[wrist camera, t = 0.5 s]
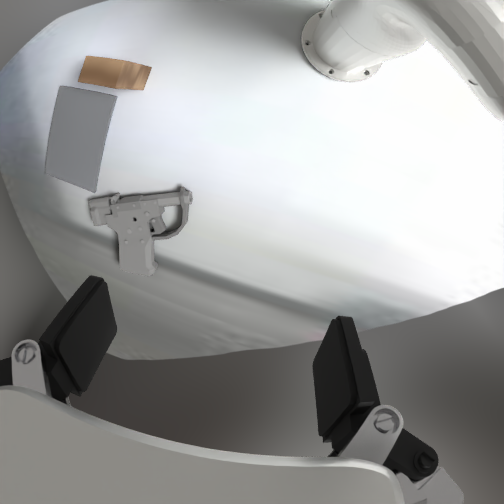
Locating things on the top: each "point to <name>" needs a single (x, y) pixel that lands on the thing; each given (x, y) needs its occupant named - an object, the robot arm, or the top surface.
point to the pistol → (139, 225)
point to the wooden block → (114, 73)
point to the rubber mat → (78, 136)
